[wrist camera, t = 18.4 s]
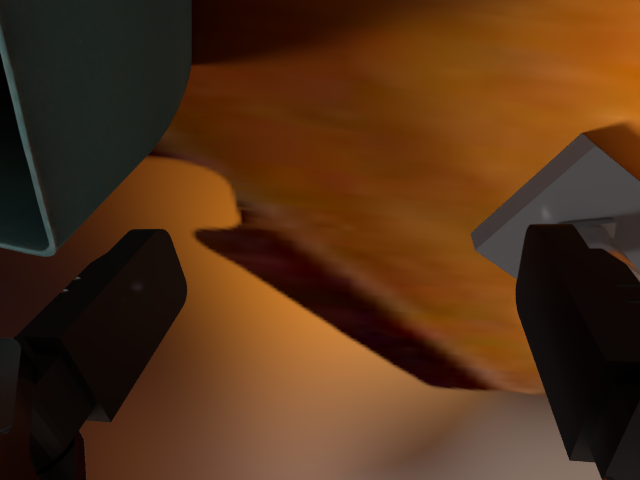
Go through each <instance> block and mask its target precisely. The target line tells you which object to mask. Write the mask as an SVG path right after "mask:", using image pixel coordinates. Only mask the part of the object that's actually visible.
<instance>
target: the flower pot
mask: <svg viewBox="0 0 640 480" xmlns="http://www.w3.org/2000/svg"><path fill="white" fill-rule="evenodd" d="M191 64H192V0H0V247H1V248H6V249H10V250H15V251H19V252H23V253H28V254H34V255H38V256H47V257H48V256H51V255H54V253H55V252H56V251H57V250H58V249H59V248H60V247H61V246H62V245H63V244H64V243H65V242H66V241H67V240H68V239H69V237H70V236H71V235H72V234H73V233H74V232H75V231H76V230H77V229H78V228H79V227H80V226H81V225H82V224H83V223H84V222H85V221H86V219H87V218H88V217H89V216H90V215H91V214H92V213H93V212H94V211H95V210H96V209H97V208H98V207H99V206H100V205H101V204H102V203H103V201H104V200H105V199H106V198H107V197H108V196H109V195H110V194H111V193H112V192H113V191H114V190H115V189H116V188H117V187H118V186H119V185H120V183H122V181H123V180H124V179H125V178H126V177H127V176H128V175H129V174H130V173H131V172H132V171H133V170H134V169H135V168H136V167H137V166H138V165H139V164H140V162H142V160H143V159H144V158H145V157H146V156H147V155H148V154H149V153H150V152H151V151H152V150H153V148H154V147H155V146H156V145H157V143H158V142H159V141H160V139H161V138H162V136H163V134H164V133H165V131H166V130H167V128H168V127H169V125H170V123H171V121H172V119H173V117H174V116H175V114H176V112H177V110H178V107H179V105H180V102H181V100H182V98H183V95H184V92H185V89H186V86H187V83H188V79H189V75H190V70H191Z"/></svg>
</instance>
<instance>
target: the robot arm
mask: <svg viewBox="0 0 640 480" xmlns="http://www.w3.org/2000/svg"><path fill="white" fill-rule="evenodd" d="M186 295H187V284H186V279H185V277H184V274H183V271H182V268H181V265H180V262H179V259H178V257H177V254H176V251H175V248H174V245H173V242H172V239H171V237H170V235H169V234H168V232H167V231H166V230H163V229H134V230H130V231H129V232H128V233H127V234H126V235H125V236H124V237H123V238H122V239H121V240H120V241H119V242H118V243H117V244H116V245H115V246H114V247H113V248H112V249H111V250H110V251H109V252H108V253H106V254H105V255H103V256H101V257H100V258H98V259H96V260H95V261H93V262H91V263H90V264H89V265H88V266H87V267H86V268H85V269H84V270H83V271H82V272H81V273H80V274H79V275H78V276H77V277H76V280H73V281H72V282H71V283H70V284H69V285H68V286H67V287H66V288H65V289H64V292H63V293H59V294H58V295H57V297H55V298H54V299H53V300H52V301H51V302H50V303H49V304H48V305H47V306H46V307H45V308H44V309H43V310H42V311H41V312H40V313H39V314H38V315H37V316H36V317H35V318H34V319H33V320H32V321H31V322H30V323H29V324H28V325H27V326H26V327H25V328H24V329H23V330H22V331H21V332H20V333H19V334H18V335H17V336H15V338H14V339H11V338H0V480H86V461H85V444H84V438H83V436H82V434H81V433H80V431H79V430H80V428H81V427H82V425H83V424H84V422H85V421H86V420H89V421H102V422H111V421H112V420H113V418H114V416H115V415H116V413H117V412H118V410H119V409H120V407H121V405H122V404H123V402H124V400H125V399H126V397H127V396H128V394H129V392H130V391H131V389H132V388H133V386H134V384H135V383H136V381H137V379H138V378H139V376H140V375H141V373H142V372H143V370H144V368H145V367H146V365H147V363H148V362H149V360H150V359H151V357H152V356H153V354H154V352H155V351H156V349H157V347H158V346H159V344H160V343H161V341H162V339H163V338H164V336H165V335H166V333H167V331H168V330H169V328H170V327H171V325H172V323H173V322H174V320H175V318H176V317H177V315H178V314H179V312H180V310H181V309H182V307H183V305H184V303H185V300H186ZM516 306H517V311H518V315H519V318H520V320H521V323H522V326H523V329H524V332H525V335H526V338H527V340H528V343H529V346H530V349H531V352H532V355H533V358H534V360H535V363H536V366H537V369H538V372H539V375H540V378H541V380H542V383H543V386H544V389H545V392H546V395H547V397H548V400H549V403H550V406H551V409H552V412H553V415H554V417H555V420H556V423H557V426H558V429H559V432H560V434H561V437H562V440H563V443H564V446H565V449H566V451H567V455H568V457H569V460H571V461H584V462H595V463H596V466H597V468H598V471H599V473H600V476H601V478H602V480H640V281H639V280H638V279H637V277H636V276H635V275H634V273H633V272H632V271H631V270H630V268H629V267H628V266H627V264H625V263H624V262H622V261H621V260H619V259H618V258H616V257H615V256H613V255H612V254H610V253H609V252H607V251H605V250H604V249H602V248H589V247H588V245H587V244H586V242H585V241H584V239H583V238H582V236H581V235H580V234H579V232H578V231H577V229H576V228H575V226H574V225H572V224H530V225H529V226H528V228H527V230H526V233H525V238H524V244H523V249H522V255H521V261H520V266H519V272H518V277H517V283H516Z"/></svg>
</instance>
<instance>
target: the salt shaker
mask: <svg viewBox="0 0 640 480" xmlns="http://www.w3.org/2000/svg"><path fill="white" fill-rule="evenodd" d="M557 224H572V225H574V226H575V228H576V229H577V231H578V232H579V234H580V235H581V236H582V238H583V239H584V241H585V242H586V244H587V245H588V247H589V248H602V249H604V250H605V251H607V252H609V253H610V254H612V255H613V256H615V257H616V258H618V259H619V260H621V261H622V262H624V263H625V264H627V266H628V267H629V268H630V270H631V271H632V272H633V273H634V275H635V276H636V277H637V279H638V280H639V281H640V272H639V271H638V270H637V269H636V267H635V266H634V265H633V263H632V262H631V261H630V260H629V258H628V257H627V256H626V254H625V253H624V252H623V251H622V249H621V248H620V247H619V245H618V244H617V243H616V242H615V240H614V235H615V230H616V224H617V223H616V221H615V220H614V219H613V218H604V219H592V220H581V221H570V222H558V223H557Z"/></svg>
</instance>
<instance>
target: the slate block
mask: <svg viewBox="0 0 640 480" xmlns="http://www.w3.org/2000/svg"><path fill="white" fill-rule="evenodd" d="M604 218H613V219H614V220H615V221H616V223H617V224H616V230H615V235H614V240H615V242H616V243H617V244H618V245H619V247H620V248H621V249H622V251H623V252H624V253H625V254H626V256H627V257H628V258H629V260H630V261H631V262H632V263H633V265H634V266H635V267H636V269H637V270H638V271H639V272H640V180H638V179H637V178H636V177H635V176H634V175H632V174H631V173H630V172H629V171H628V170H626V169H625V168H624V167H623V166H621V165H620V164H619V163H618V162H617V161H615V160H614V159H613V158H612V157H611V156H609V155H608V154H607V153H606V152H604V151H603V150H602V149H601V148H600V147H598V146H597V145H596V144H595V143H594V142H592V141H591V140H590V139H589V138H587V137H586V136H585V135H584V134H583V133H581V134H580V135H579V136H578V137H577V138H576V139H575V140H574V141H572V142H571V143H570V144H569V145H568V146H567V147H566V148H565V149H564V150H563V151H561V152H560V153H559V154H558V155H557V156H556V157H555V158H554V159H553V160H551V161H550V162H549V163H548V164H547V165H546V166H545V167H544V168H543V169H541V170H540V171H539V172H538V173H537V174H536V175H535V176H534V177H533V178H532V179H530V180H529V181H528V182H527V183H526V184H525V185H524V186H523V187H522V188H520V189H519V190H518V191H517V192H516V193H515V194H514V195H513V196H512V197H511V198H509V199H508V200H507V201H506V202H505V203H504V204H503V205H502V206H501V207H499V208H498V209H497V210H496V211H495V212H494V213H493V214H492V215H491V216H489V217H488V218H487V219H486V220H485V221H484V222H483V223H482V224H481V225H480V226H478V227H477V228H476V229H475V230H474V231H473V232H472V233H471V237H472V241H473V244H474V248H475V250H476V251H477V252H478V253H480V254H481V255H483V256H484V257H486V258H487V259H488V260H490V261H491V262H493V263H494V264H496V265H497V266H499V267H500V268H501V269H503V270H504V271H506V272H507V273H509V274H510V275H511V276H513V277H514V278H516V279H517V277H518V272H519V266H520V261H521V255H522V249H523V244H524V238H525V233H526V230H527V228H528V226H529V225H530V224H557V223H558V222H570V221H581V220H592V219H604Z"/></svg>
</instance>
